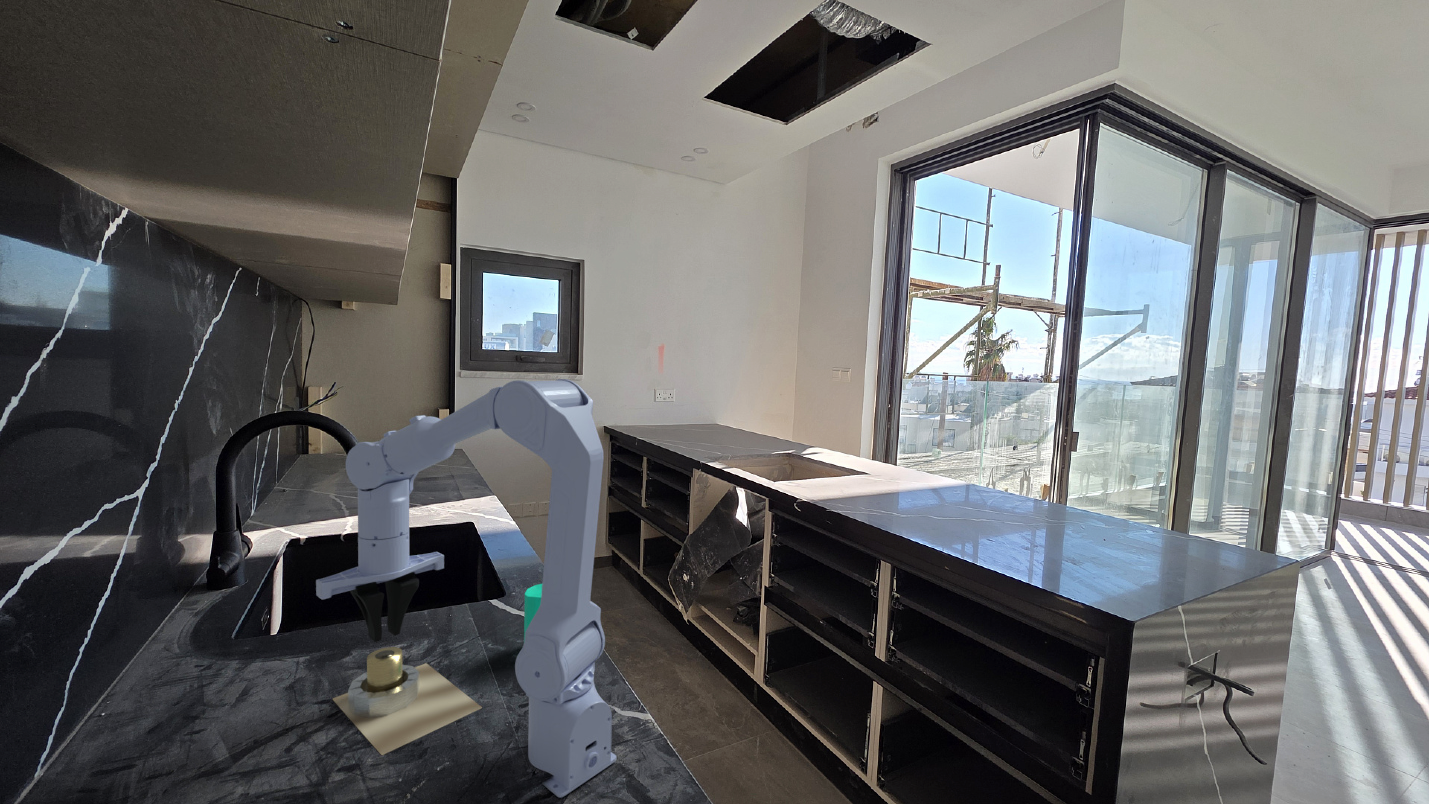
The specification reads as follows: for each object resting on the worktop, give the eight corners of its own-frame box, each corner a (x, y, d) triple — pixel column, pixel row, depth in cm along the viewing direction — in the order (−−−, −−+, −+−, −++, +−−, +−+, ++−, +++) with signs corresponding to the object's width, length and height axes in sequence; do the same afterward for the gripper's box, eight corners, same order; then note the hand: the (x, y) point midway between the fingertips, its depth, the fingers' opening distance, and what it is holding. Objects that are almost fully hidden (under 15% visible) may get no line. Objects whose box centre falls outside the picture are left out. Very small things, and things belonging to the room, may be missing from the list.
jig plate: (482, 715, 74) (482, 707, 73) (381, 763, 64) (381, 755, 64) (426, 669, 84) (426, 663, 84) (332, 706, 74) (332, 698, 74)
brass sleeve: (407, 698, 75) (407, 653, 74) (374, 712, 72) (374, 665, 71) (394, 686, 77) (394, 643, 77) (362, 699, 74) (361, 655, 74)
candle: (552, 668, 85) (553, 590, 84) (516, 662, 86) (517, 585, 86) (570, 648, 91) (571, 575, 90) (536, 643, 92) (537, 571, 91)
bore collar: (428, 697, 75) (428, 679, 75) (363, 725, 69) (363, 706, 69) (403, 675, 80) (403, 658, 80) (340, 700, 74) (340, 681, 74)
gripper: (427, 516, 81) (427, 608, 82) (307, 538, 70) (308, 645, 71) (451, 526, 77) (451, 624, 78) (326, 552, 65) (328, 665, 66)
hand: (384, 635), depth 74 cm, fingers closed
